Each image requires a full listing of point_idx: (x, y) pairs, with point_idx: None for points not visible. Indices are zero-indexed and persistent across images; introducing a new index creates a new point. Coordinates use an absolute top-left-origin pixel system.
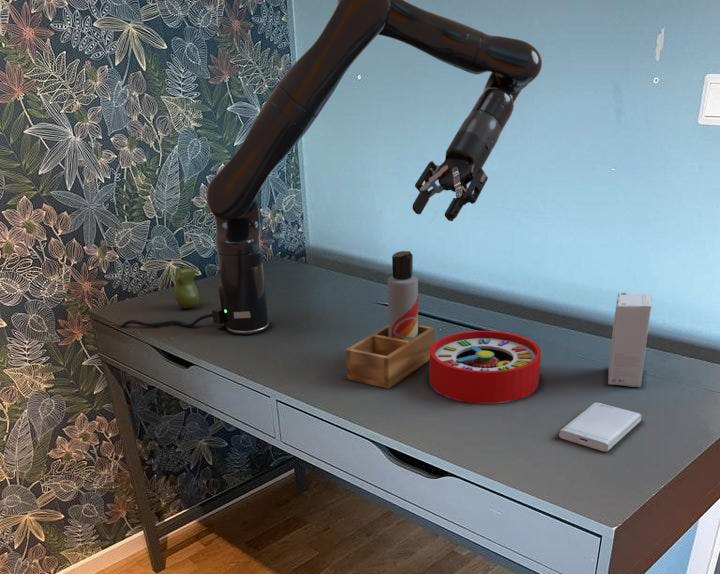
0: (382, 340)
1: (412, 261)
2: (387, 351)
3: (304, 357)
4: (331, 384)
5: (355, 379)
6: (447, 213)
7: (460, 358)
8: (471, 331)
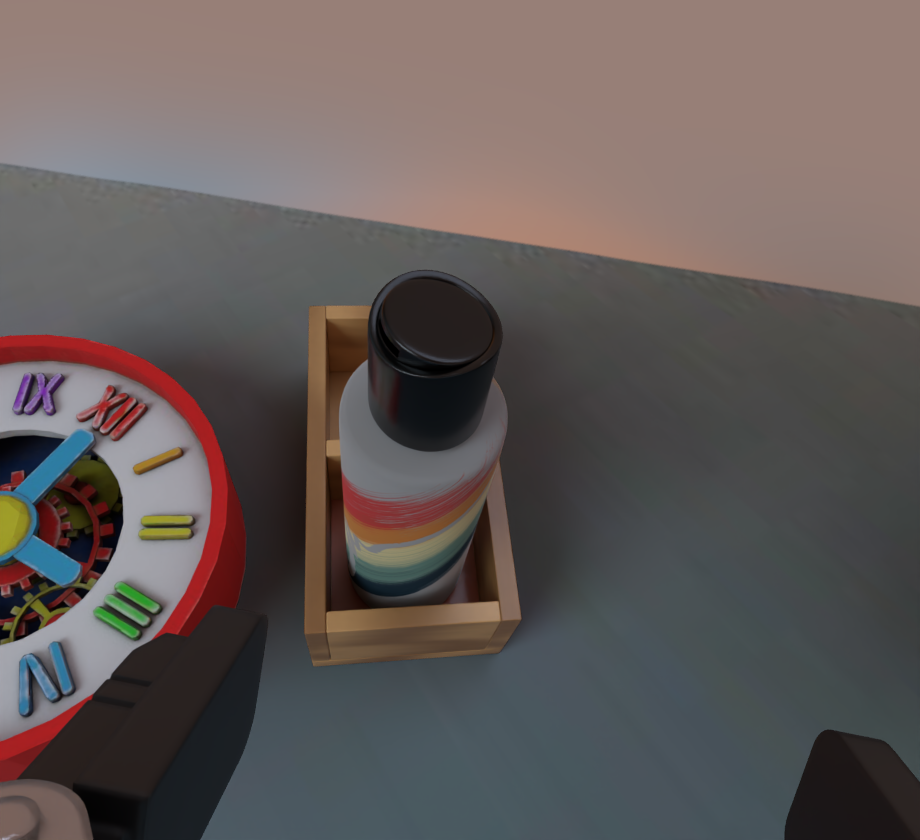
0: None
1: (372, 366)
2: None
3: (694, 430)
4: None
5: None
6: (214, 606)
7: (80, 447)
8: None
